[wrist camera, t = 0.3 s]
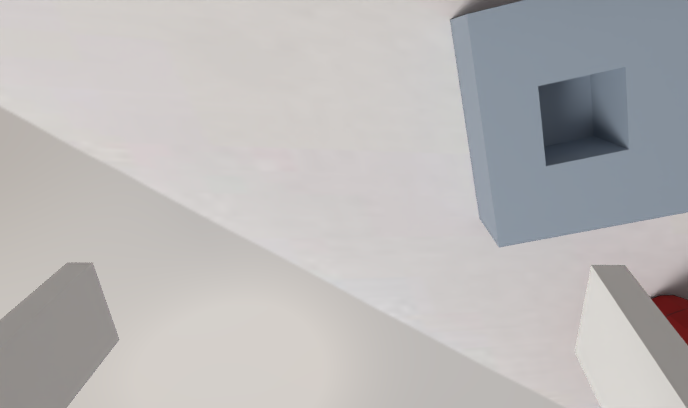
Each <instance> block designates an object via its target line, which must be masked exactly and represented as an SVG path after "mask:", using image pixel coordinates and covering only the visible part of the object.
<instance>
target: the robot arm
mask: <svg viewBox="0 0 688 408" xmlns="http://www.w3.org/2000/svg"><path fill="white" fill-rule="evenodd" d="M118 341H119V337H118V334H117V331H116V329H115V326H114V323H113V320H112V317H111V314H110V311H109V308H108V306H107V303H106V300H105V297H104V294H103V291H102V288H101V285H100V282H99V279H98V277H97V274H96V271H95V268H94V265H93V263H66V264H65V265H64V266H63V267H62V268H61V269H59V270H58V271H57V272H56V273H55V274H53V275H52V276H51V277H50V278H49V279H48V280H47V281H45V282H44V283H43V284H42V285H41V286H39V287H38V288H37V289H36V290H35V291H34V292H33V293H31V294H30V295H29V296H28V297H27V298H25V299H24V300H23V301H22V302H21V303H20V304H18V305H17V306H16V307H15V308H14V309H13V310H11V311H10V312H9V313H8V314H7V315H6V316H4V317H3V318H2V319H1V320H0V408H67V406H68V405H69V404H70V403H71V401H72V400H73V399H74V397H75V396H76V395H77V394H78V392H79V391H80V390H81V388H82V387H83V386H84V385H85V383H86V382H87V380H88V379H89V378H90V377H91V375H92V374H93V373H94V372H95V370H96V369H97V368H98V366H99V365H100V364H101V363H102V361H103V360H104V359H105V357H106V356H107V355H108V354H109V352H110V351H111V350H112V348H113V347H114V346H115V345H116V343H117V342H118ZM575 354H576V356H577V358H578V360H579V362H580V365H581V367H582V369H583V371H584V373H585V375H586V377H587V380H588V382H589V384H590V386H591V388H592V390H593V392H594V395H595V397H596V399H597V401H598V403H599V405H600V407H601V408H688V345H687V344H686V343H685V341H684V340H683V339H682V338H681V336H680V335H679V334H678V333H677V331H676V330H675V329H674V327H673V326H672V325H671V324H670V322H669V321H668V320H667V319H666V317H665V316H664V315H663V313H662V312H661V311H660V310H659V308H658V307H657V306H656V304H655V303H654V302H653V301H652V299H651V298H650V297H649V296H648V294H647V293H646V292H645V290H644V289H643V288H642V287H641V285H640V284H639V283H638V282H637V280H636V279H635V278H634V276H633V275H632V274H631V273H630V271H629V270H628V269H627V267H626V266H625V265H591V269H590V274H589V279H588V284H587V290H586V295H585V300H584V305H583V310H582V315H581V321H580V326H579V331H578V336H577V341H576V347H575Z"/></svg>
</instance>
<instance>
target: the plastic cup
mask: <svg viewBox="0 0 688 408" xmlns="http://www.w3.org/2000/svg"><path fill="white" fill-rule="evenodd" d="M652 301H653V302H654V303H655V304H656V306H657V307H658V308H659V310H660V311H661V312H662V313H663V315H664V316H665V317H666V319H667V320H668V321H669V322H670V324H671V325H672V326H673V327H674V329H675V330H676V331H677V333H678V334H679V335H680V336H681V338H682V339H683V340H684V341H685V343H686V344H687V345H688V300H686V299H684V298H681V297H677V296H674V295H661V296H658V297H655V298H652Z"/></svg>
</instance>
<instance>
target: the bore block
mask: <svg viewBox="0 0 688 408" xmlns="http://www.w3.org/2000/svg"><path fill="white" fill-rule="evenodd" d="M450 22H451V29H452V36H453V42H454V49H455V56H456V63H457V69H458V76H459V83H460V89H461V96H462V103H463V110H464V116H465V123H466V130H467V136H468V143H469V150H470V157H471V163H472V170H473V177H474V184H475V190H476V197H477V204H478V210H479V217H480V220H481V221H482V223H483V224H484V226H485V227H486V229H487V230H488V232H489V233H490V235H491V236H492V238H493V239H494V241H495V242H496V244H497V245H498V247H504V246H509V245H515V244H520V243H525V242H531V241H536V240H541V239H547V238H552V237H557V236H563V235H568V234H574V233H579V232H584V231H590V230H595V229H600V228H606V227H611V226H616V225H622V224H627V223H633V222H638V221H643V220H649V219H654V218H659V217H665V216H670V215H676V214H681V213H686V212H688V0H523V1H519V2H515V3H511V4H507V5H502V6H498V7H494V8H490V9H486V10H482V11H478V12H474V13H470V14H466V15H463V16H460V17H457V18H454V19H451V20H450Z"/></svg>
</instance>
